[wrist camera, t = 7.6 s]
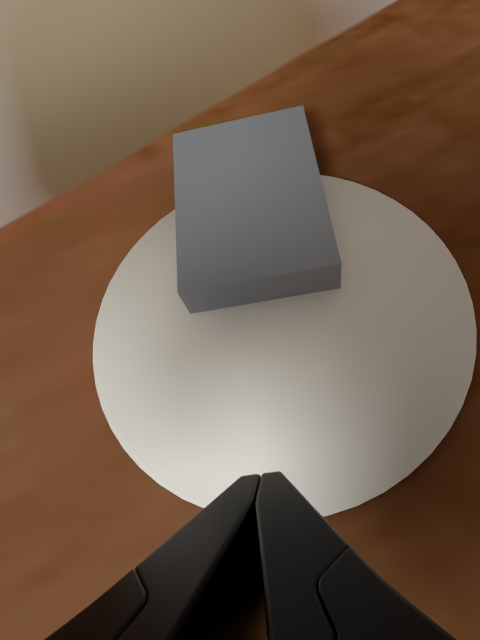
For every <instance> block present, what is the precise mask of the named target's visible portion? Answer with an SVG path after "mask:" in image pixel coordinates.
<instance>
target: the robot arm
mask: <svg viewBox="0 0 480 640" xmlns="http://www.w3.org/2000/svg"><path fill="white" fill-rule="evenodd" d="M267 638H268V640H456V639H455V638H453V637H452V636H451V635H450V634H448V633H447V632H446V631H445V630H443V629H442V628H441V627H440V626H438V625H437V624H436V623H435V622H434V621H432V620H431V619H430V618H429V617H427V616H426V615H425V614H424V613H422V612H421V611H420V610H419V609H417V608H416V607H415V606H414V605H413V604H411V603H410V602H409V601H408V600H406V599H405V598H404V597H403V596H402V595H401V594H399V593H398V592H397V591H396V590H395V589H394V588H392V587H391V586H390V585H389V584H388V583H387V582H386V581H384V580H383V579H382V578H381V577H380V576H379V575H378V574H377V573H376V572H375V571H374V570H373V569H372V568H371V567H370V566H369V565H368V564H367V563H366V562H365V561H364V560H363V559H362V558H361V557H360V556H359V555H358V554H357V552H356V551H355V550H354V549H353V548H351V547H350V546H349V545H348V544H347V543H346V541H345V540H344V539H343V538H342V537H341V536H340V535H339V534H338V533H337V532H336V531H335V530H334V528H333V527H332V526H331V525H330V524H329V523H328V522H327V521H326V520H325V519H324V518H323V517H322V515H321V514H320V513H319V512H318V511H317V510H316V509H315V508H314V507H313V506H312V505H311V504H310V502H309V501H308V500H307V499H306V498H305V497H304V496H303V495H302V494H301V493H300V492H299V491H298V489H297V488H296V487H295V486H294V485H293V484H292V483H291V482H290V481H289V480H288V479H287V478H286V476H285V475H284V474H283V473H282V472H280V471H276V472H268V473H263V474H262V475H261V476H260V475H259V474H252V475H244V476H241V477H240V478H238V479H237V480H236V481H235V482H234V483H233V484H231V485H230V486H229V487H228V488H227V489H226V490H225V491H223V492H222V493H221V494H220V495H219V496H218V497H216V498H215V499H214V500H213V501H212V502H211V503H210V504H208V505H207V506H206V507H205V508H204V509H203V510H201V511H200V512H199V513H198V514H197V515H196V516H195V517H193V518H192V519H191V520H190V521H189V522H188V523H186V524H185V525H184V526H183V527H182V528H181V529H180V530H178V531H177V532H176V533H175V534H174V535H173V536H171V537H170V538H169V539H168V540H167V541H166V542H165V543H163V544H162V545H161V546H160V547H159V548H158V549H156V550H155V551H154V552H153V553H152V554H151V555H149V556H148V557H147V558H146V559H145V560H144V561H143V562H141V563H140V564H139V565H138V566H137V567H136V568H135V570H131V571H130V572H129V573H128V574H126V575H125V576H124V577H123V578H122V579H121V580H119V581H118V582H117V583H116V584H115V585H114V586H112V587H111V588H110V589H109V590H108V591H106V592H105V593H104V594H103V595H101V596H100V597H99V598H98V599H97V600H95V601H94V602H93V603H92V604H91V605H89V606H88V607H87V608H85V609H84V610H83V611H82V612H80V613H79V614H78V615H76V616H75V617H74V618H72V619H71V620H70V621H68V622H67V623H66V624H65V625H63V626H62V627H61V628H59V629H58V630H57V631H55V632H54V633H53V634H51V635H50V636H49V637H47V638H46V639H45V640H267Z"/></svg>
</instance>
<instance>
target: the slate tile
mask: <svg viewBox="0 0 480 640" xmlns="http://www.w3.org/2000/svg"><path fill="white" fill-rule="evenodd" d="M173 155H174V189H175V223H176V257H177V290H178V295H179V296H180V298H181V299H182V301H183V303H184V304H185V306H186V308H187V309H188V311H189V312H190V314H193V313H198V312H204V311H210V310H216V309H222V308H228V307H234V306H239V305H245V304H251V303H257V302H263V301H269V300H275V299H280V298H286V297H292V296H298V295H304V294H310V293H315V292H321V291H327V290H333V289H339V288H341V268H342V263H341V259H340V255H339V251H338V247H337V243H336V239H335V234H334V230H333V226H332V222H331V218H330V214H329V210H328V206H327V202H326V198H325V194H324V190H323V185H322V181H321V177H320V173H319V169H318V165H317V161H316V157H315V153H314V149H313V145H312V140H311V136H310V132H309V128H308V124H307V120H306V116H305V112H304V108H303V105H302V106H297V107H293V108H288V109H284V110H279V111H275V112H270V113H266V114H261V115H257V116H252V117H248V118H243V119H239V120H234V121H230V122H225V123H221V124H217V125H212V126H208V127H203V128H199V129H194V130H190V131H185V132H181V133H176V134H173Z"/></svg>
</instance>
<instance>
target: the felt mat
mask: <svg viewBox="0 0 480 640" xmlns="http://www.w3.org/2000/svg"><path fill="white" fill-rule="evenodd" d="M320 177H321V181H322V185H323V190H324V194H325V198H326V202H327V206H328V210H329V214H330V218H331V222H332V226H333V230H334V234H335V239H336V243H337V247H338V251H339V255H340V259H341V263H342V268H341V288H339V289H333V290H327V291H321V292H315V293H310V294H304V295H298V296H292V297H286V298H280V299H275V300H269V301H263V302H257V303H251V304H245V305H239V306H234V307H228V308H222V309H216V310H210V311H204V312H198V313H193V314H190V312H189V311H188V309H187V308H186V306H185V304H184V303H183V301H182V299H181V298H180V296H179V295H178V290H177V257H176V223H175V210H173V211H172V212H170V213H169V214H168V215H166V216H165V217H164V218H162V219H161V220H160V221H159V222H157V223H156V224H155V225H154V226H153V227H152V228H151V229H150V230H149V231H147V232H146V233H145V234H144V235H143V237H142V238H141V239H140V240H139V241H138V242H137V243H136V244H135V245H134V247H133V248H132V249H131V250H130V252H129V253H128V254H127V256H126V257H125V259H124V260H123V261H122V263H121V264H120V266H119V267H118V269H117V271H116V273H115V274H114V276H113V278H112V280H111V282H110V284H109V286H108V288H107V291H106V293H105V295H104V298H103V300H102V303H101V307H100V310H99V314H98V317H97V321H96V327H95V334H94V340H93V369H94V377H95V385H96V389H97V392H98V396H99V400H100V403H101V407H102V409H103V412H104V414H105V416H106V419H107V421H108V423H109V425H110V428H111V430H112V431H113V433H114V434H115V436H116V437H117V439H118V441H119V442H120V444H121V445H122V447H123V449H124V450H125V451H126V452H127V453H128V454H129V456H130V457H131V458H132V459H133V460H134V461H135V463H136V464H137V465H138V466H139V467H140V468H141V469H142V470H143V471H144V472H146V473H147V474H148V475H149V476H150V477H151V478H153V479H154V480H155V481H156V482H157V483H158V484H160V485H161V486H163V487H164V488H166V489H167V490H169V491H171V492H172V493H174V494H175V495H177V496H179V497H180V498H182V499H184V500H186V501H188V502H191V503H193V504H195V505H198V506H200V507H202V508H205V507H206V506H207V505H208V504H210V503H211V502H212V501H213V500H214V499H215V498H216V497H218V496H219V495H220V494H221V493H222V492H223V491H225V490H226V489H227V488H228V487H229V486H230V485H231V484H233V483H234V482H235V481H236V480H237V479H238V478H240V477H241V476H244V475H252V474H259V475H260V476H261V475H262V474H263V473H268V472H276V471H280V472H282V473H283V474H284V475H285V476H286V478H287V479H288V480H289V481H290V482H291V483H292V484H293V485H294V486H295V487H296V488H297V489H298V491H299V492H300V493H301V494H302V495H303V496H304V497H305V498H306V499H307V500H308V501H309V502H310V504H311V505H312V506H313V507H314V508H315V509H316V510H317V511H318V512H319V513H320V514H321V515H322V517H324V516H329V515H332V514H335V513H338V512H341V511H344V510H347V509H350V508H353V507H356V506H358V505H360V504H362V503H364V502H366V501H368V500H370V499H372V498H374V497H376V496H378V495H380V494H382V493H384V492H386V491H387V490H388V489H390V488H391V487H393V486H394V485H396V484H397V483H398V482H400V481H401V480H403V479H404V478H406V477H407V476H408V475H410V474H411V473H412V472H413V471H414V470H415V469H416V468H417V467H418V466H419V465H420V464H421V463H422V462H423V461H424V460H425V459H426V458H427V457H428V456H429V455H431V454H432V452H433V451H434V450H435V448H436V447H437V446H438V444H439V443H440V442H441V441H442V439H443V438H444V437H445V435H446V434H447V433H448V431H449V430H450V428H451V426H452V424H453V423H454V421H455V419H456V417H457V415H458V413H459V412H460V410H461V408H462V406H463V403H464V400H465V398H466V395H467V392H468V389H469V386H470V383H471V380H472V375H473V369H474V364H475V358H476V335H477V329H476V322H475V315H474V308H473V303H472V300H471V297H470V293H469V290H468V287H467V283H466V281H465V279H464V277H463V275H462V273H461V271H460V268H459V266H458V264H457V262H456V261H455V259H454V258H453V256H452V255H451V253H450V252H449V250H448V249H447V247H446V246H445V244H444V243H443V242H442V240H441V239H440V238H439V237H438V236H437V235H436V234H435V232H434V231H433V230H432V229H431V228H430V227H429V226H428V225H427V224H426V223H425V222H424V221H422V220H421V219H420V218H419V217H418V216H417V215H415V214H414V213H413V212H412V211H410V210H409V209H407V208H406V207H404V206H403V205H401V204H400V203H398V202H397V201H395V200H394V199H392V198H390V197H388V196H386V195H384V194H382V193H380V192H378V191H376V190H374V189H371V188H369V187H366V186H363V185H361V184H358V183H355V182H352V181H348V180H344V179H340V178H336V177H331V176H324V175H320Z"/></svg>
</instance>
